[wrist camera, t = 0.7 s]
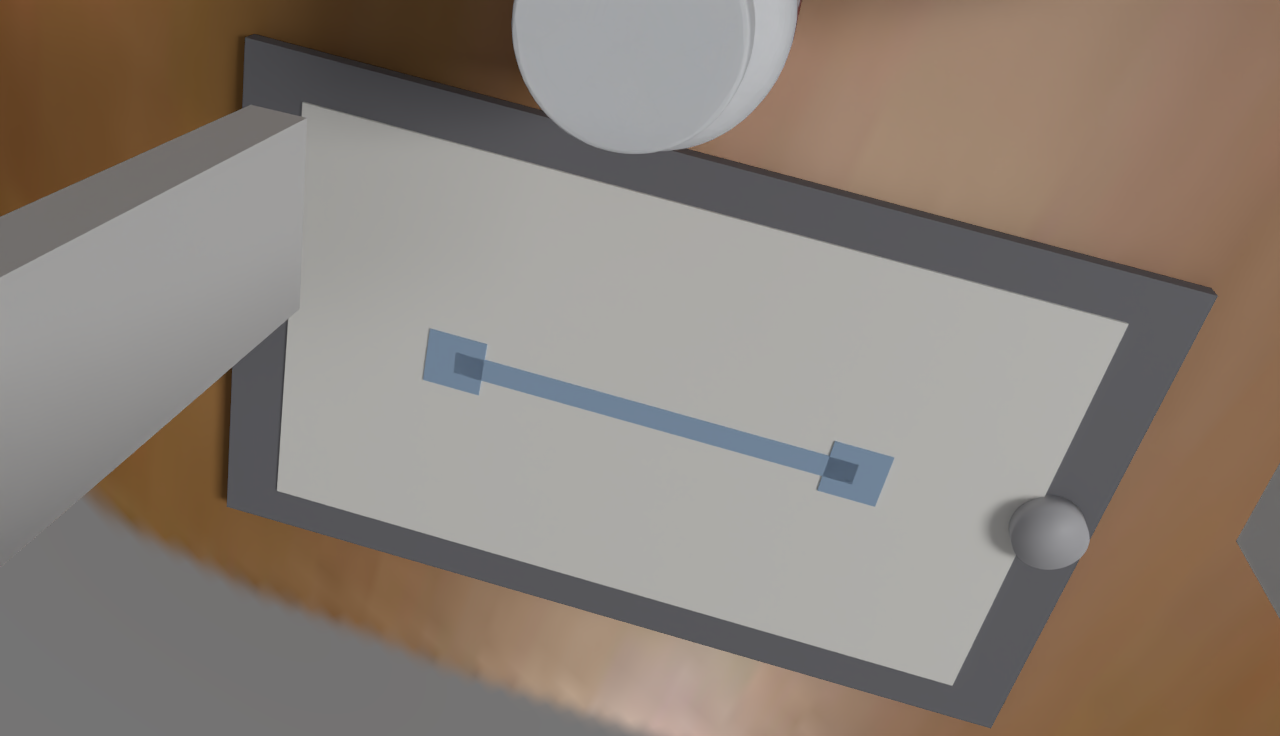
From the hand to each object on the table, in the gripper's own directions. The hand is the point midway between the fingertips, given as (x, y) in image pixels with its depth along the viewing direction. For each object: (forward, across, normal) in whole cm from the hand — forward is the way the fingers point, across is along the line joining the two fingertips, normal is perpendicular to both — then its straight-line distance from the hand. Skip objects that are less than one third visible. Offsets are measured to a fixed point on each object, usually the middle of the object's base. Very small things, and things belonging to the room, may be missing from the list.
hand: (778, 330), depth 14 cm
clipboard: (+19, -2, -12) cm, 23 cm away
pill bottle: (+19, -4, +2) cm, 20 cm away
